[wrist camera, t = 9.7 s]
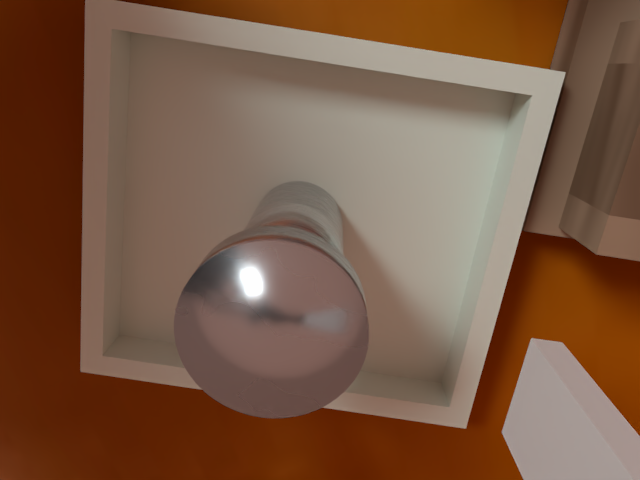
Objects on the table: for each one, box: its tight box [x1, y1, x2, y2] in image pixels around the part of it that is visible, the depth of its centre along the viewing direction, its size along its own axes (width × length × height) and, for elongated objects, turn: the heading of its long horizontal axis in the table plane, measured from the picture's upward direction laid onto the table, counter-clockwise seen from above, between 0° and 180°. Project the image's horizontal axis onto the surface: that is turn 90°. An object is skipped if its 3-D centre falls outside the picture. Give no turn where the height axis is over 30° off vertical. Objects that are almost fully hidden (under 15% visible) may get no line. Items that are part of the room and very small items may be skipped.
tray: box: [80, 0, 566, 429], centre depth 24 cm, size 18×16×3 cm
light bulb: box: [174, 181, 369, 418], centre depth 19 cm, size 5×5×10 cm
